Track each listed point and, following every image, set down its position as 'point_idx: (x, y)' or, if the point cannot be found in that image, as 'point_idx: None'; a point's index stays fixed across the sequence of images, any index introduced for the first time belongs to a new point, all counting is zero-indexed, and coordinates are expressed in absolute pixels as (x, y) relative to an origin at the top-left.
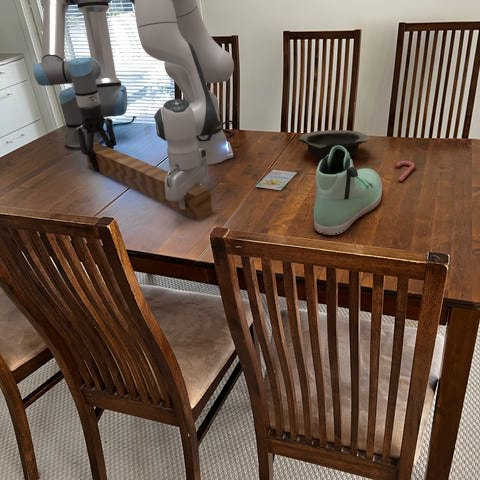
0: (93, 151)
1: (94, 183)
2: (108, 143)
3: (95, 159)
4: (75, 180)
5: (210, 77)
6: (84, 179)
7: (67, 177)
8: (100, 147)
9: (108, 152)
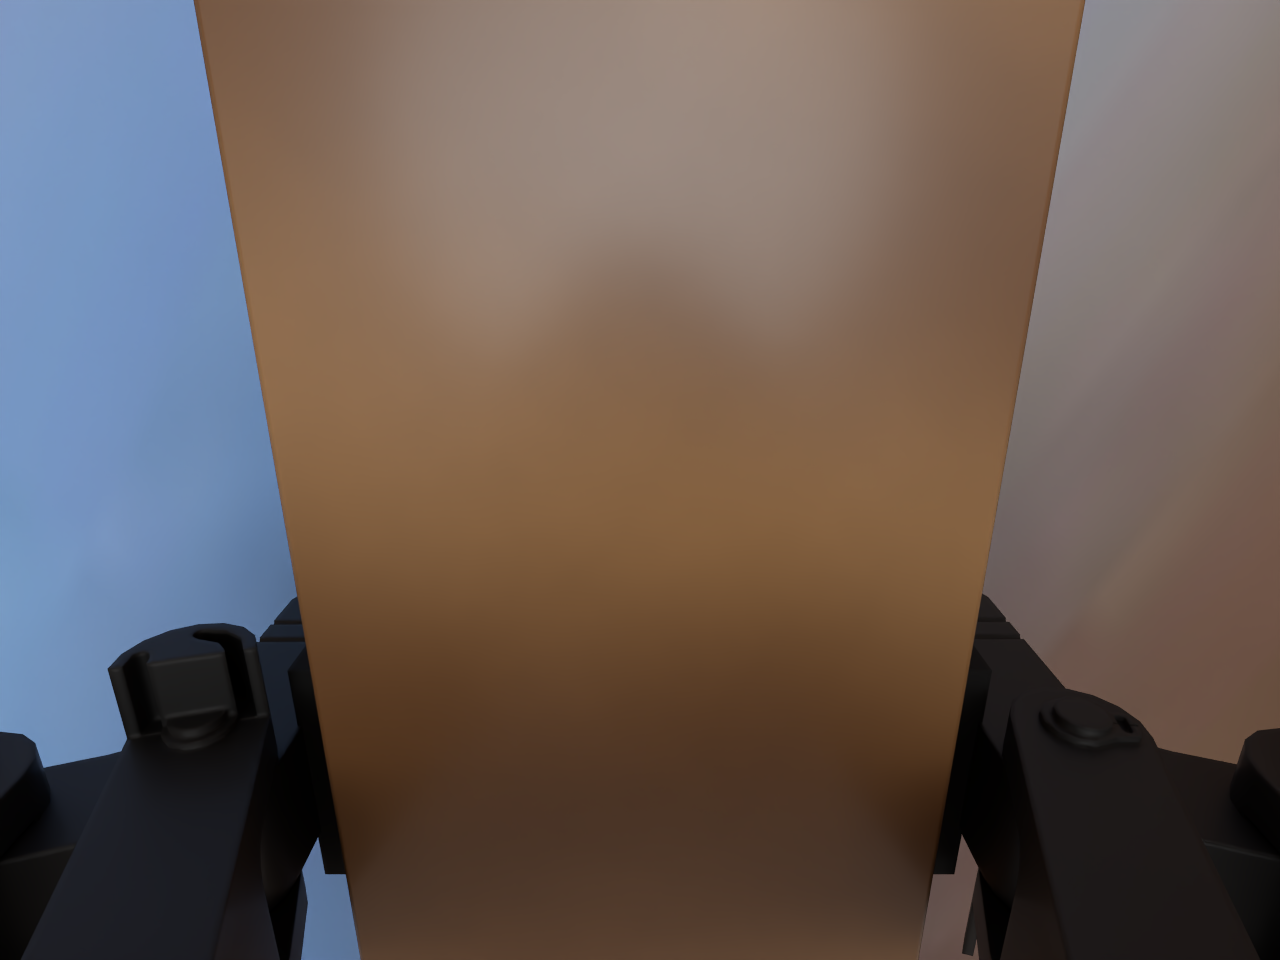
0: (939, 818)
1: (1217, 16)
2: (199, 873)
3: None
4: (1267, 505)
5: None
6: (1158, 407)
7: (1228, 723)
8: (556, 929)
9: (645, 138)
